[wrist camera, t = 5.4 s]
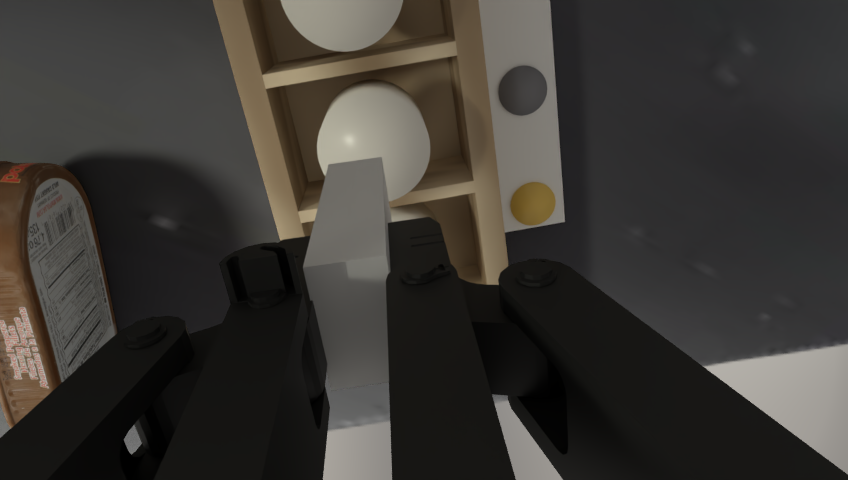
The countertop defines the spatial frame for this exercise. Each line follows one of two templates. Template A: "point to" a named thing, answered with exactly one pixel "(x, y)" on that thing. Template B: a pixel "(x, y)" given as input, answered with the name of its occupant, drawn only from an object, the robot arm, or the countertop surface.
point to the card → (523, 110)
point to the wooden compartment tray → (385, 60)
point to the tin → (47, 284)
